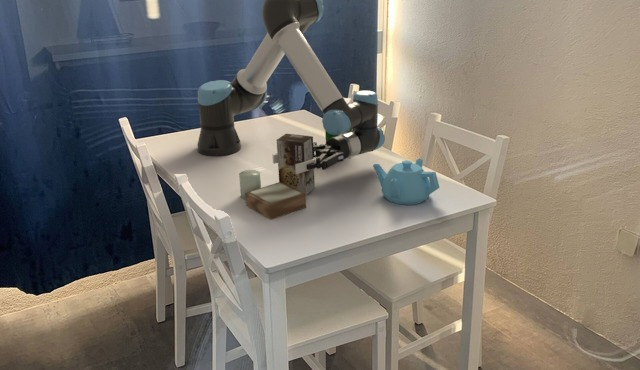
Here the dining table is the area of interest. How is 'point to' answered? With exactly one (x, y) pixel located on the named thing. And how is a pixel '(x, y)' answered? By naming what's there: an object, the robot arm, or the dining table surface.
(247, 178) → the sage rounded cylinder
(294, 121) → the dining table surface
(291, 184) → the coffee box
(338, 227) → the dining table surface
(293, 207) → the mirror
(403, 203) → the teapot
